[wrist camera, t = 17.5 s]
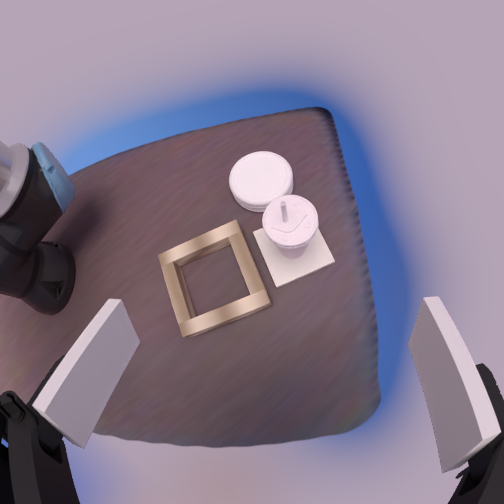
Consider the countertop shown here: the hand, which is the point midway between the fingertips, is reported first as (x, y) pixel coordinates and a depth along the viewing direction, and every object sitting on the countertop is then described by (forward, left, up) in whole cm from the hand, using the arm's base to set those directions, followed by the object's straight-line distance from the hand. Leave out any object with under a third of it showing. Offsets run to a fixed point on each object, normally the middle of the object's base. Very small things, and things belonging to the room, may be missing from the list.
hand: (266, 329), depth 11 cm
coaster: (+5, +23, -28) cm, 37 cm away
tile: (+5, +11, -28) cm, 31 cm away
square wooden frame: (-7, +11, -28) cm, 31 cm away
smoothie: (+5, +11, -27) cm, 30 cm away
